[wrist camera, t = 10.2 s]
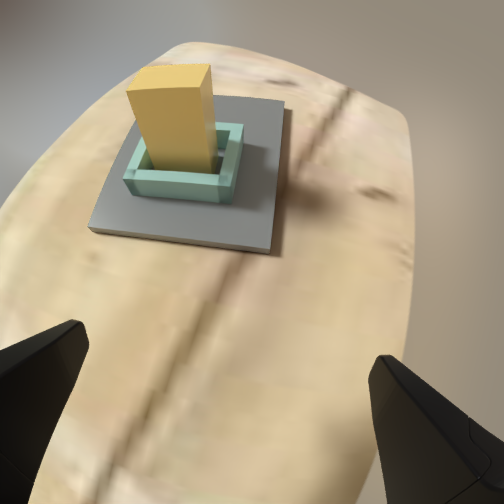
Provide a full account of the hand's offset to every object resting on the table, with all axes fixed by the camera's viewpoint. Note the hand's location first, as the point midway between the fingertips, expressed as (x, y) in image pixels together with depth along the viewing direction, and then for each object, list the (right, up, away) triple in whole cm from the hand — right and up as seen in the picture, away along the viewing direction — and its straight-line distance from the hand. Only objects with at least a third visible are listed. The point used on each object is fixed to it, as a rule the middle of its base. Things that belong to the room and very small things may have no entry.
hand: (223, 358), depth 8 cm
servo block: (-5, +11, +17) cm, 21 cm away
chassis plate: (-5, +12, +19) cm, 23 cm away
